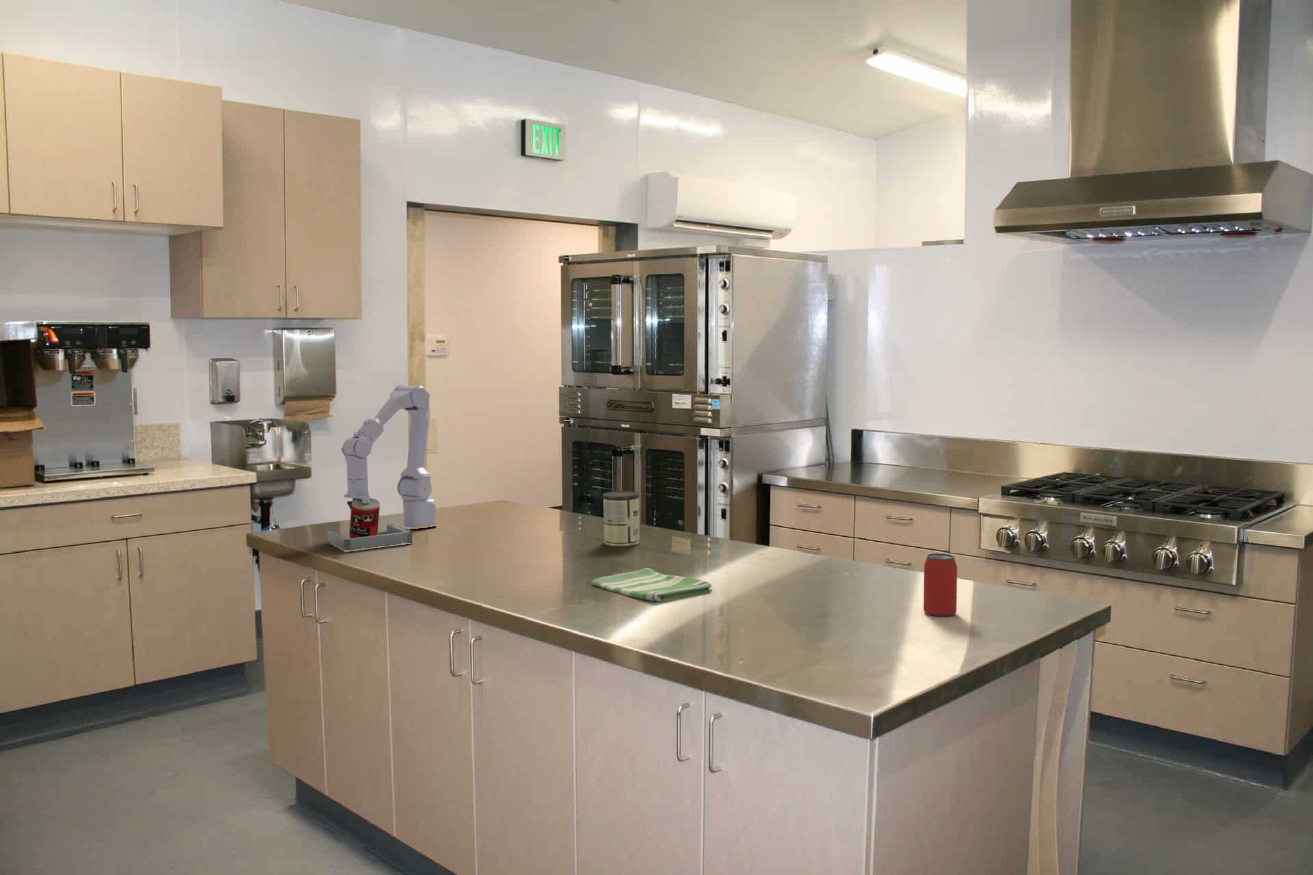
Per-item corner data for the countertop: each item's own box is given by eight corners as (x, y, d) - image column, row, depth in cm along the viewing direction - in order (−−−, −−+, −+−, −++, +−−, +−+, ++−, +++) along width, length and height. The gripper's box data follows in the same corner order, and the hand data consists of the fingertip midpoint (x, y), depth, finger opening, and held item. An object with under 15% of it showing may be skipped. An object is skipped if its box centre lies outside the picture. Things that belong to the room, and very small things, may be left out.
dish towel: (649, 575, 247) (649, 564, 247) (714, 592, 229) (714, 581, 229) (590, 587, 236) (590, 575, 236) (654, 606, 218) (653, 594, 218)
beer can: (931, 607, 213) (932, 551, 212) (961, 612, 209) (962, 555, 208) (917, 614, 208) (918, 556, 207) (948, 619, 204) (949, 560, 202)
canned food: (343, 538, 290) (345, 503, 287) (360, 529, 297) (363, 494, 294) (365, 545, 288) (368, 510, 284) (382, 536, 295) (385, 502, 292)
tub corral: (392, 535, 300) (391, 523, 300) (412, 544, 287) (412, 532, 287) (327, 543, 290) (327, 531, 289) (345, 552, 276) (345, 540, 276)
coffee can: (606, 539, 292) (605, 490, 290) (641, 539, 291) (641, 490, 289) (600, 546, 281) (600, 496, 280) (637, 546, 280) (637, 496, 279)
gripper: (336, 477, 298) (337, 522, 299) (351, 482, 286) (353, 529, 287) (359, 475, 302) (361, 520, 303) (376, 480, 290) (377, 527, 291)
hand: (359, 524), depth 295 cm, fingers closed
